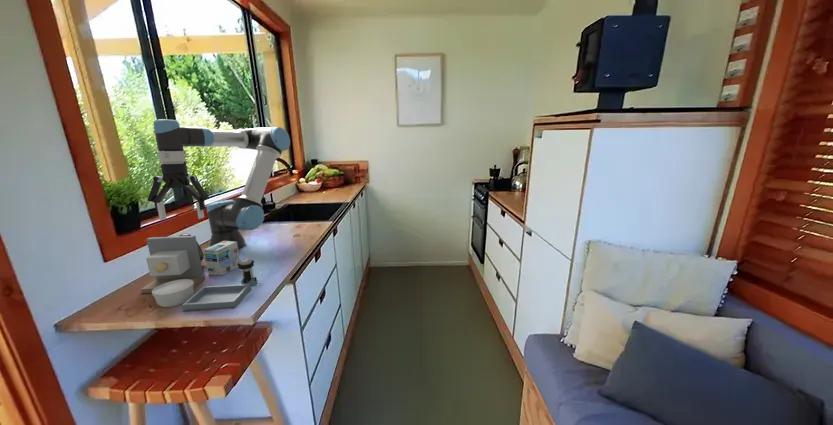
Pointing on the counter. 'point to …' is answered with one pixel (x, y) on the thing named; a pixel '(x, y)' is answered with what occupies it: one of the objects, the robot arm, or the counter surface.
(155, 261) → the mounted unit
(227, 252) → the light bulb box
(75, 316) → the counter surface
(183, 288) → the ramekin
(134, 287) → the counter surface
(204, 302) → the tray
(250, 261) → the push button
